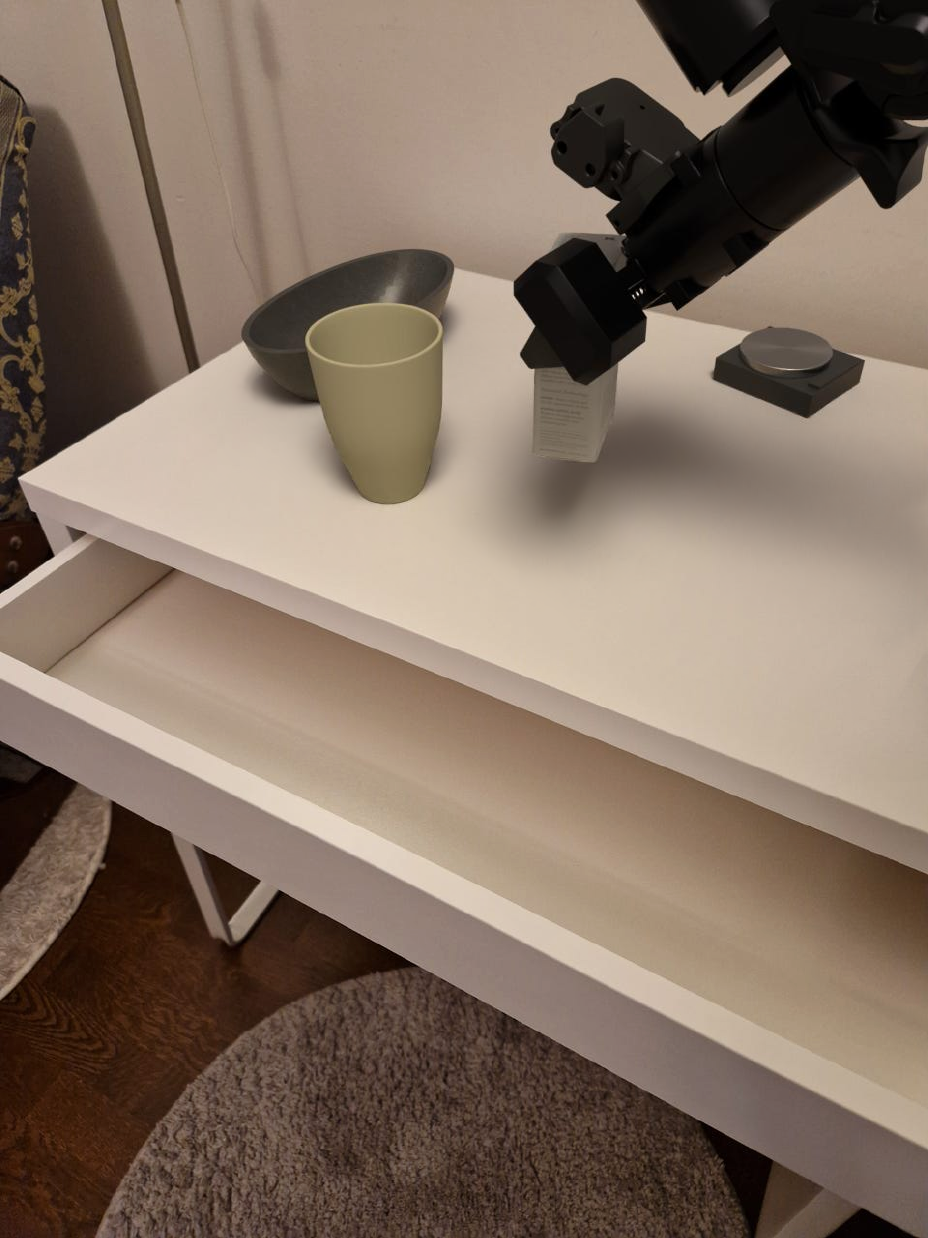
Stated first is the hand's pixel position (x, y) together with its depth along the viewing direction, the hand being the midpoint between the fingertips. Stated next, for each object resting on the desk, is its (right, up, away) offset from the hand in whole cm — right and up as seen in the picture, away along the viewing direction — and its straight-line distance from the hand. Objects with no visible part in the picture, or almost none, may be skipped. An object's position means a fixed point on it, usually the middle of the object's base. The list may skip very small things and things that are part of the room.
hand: (559, 336), depth 59 cm
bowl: (-15, +5, +27) cm, 31 cm away
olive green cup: (-12, -7, +14) cm, 19 cm away
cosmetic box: (+1, -6, +4) cm, 7 cm away
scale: (+21, +3, +21) cm, 30 cm away
